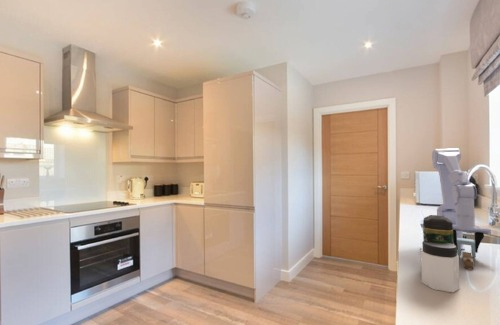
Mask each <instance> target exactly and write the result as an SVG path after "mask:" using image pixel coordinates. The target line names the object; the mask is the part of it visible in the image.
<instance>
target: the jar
mask: <svg viewBox="0 0 500 325" xmlns="http://www.w3.org/2000/svg"><path fill="white" fill-rule="evenodd" d="M421 243H422V250H421V251H420V258H421V259H420V262H421V263H420V264H421V267H420V268H421V269H420V270H421V283H422V284H424V285H425V286H427V287H429V288H430V289H432V290H436V291H440V292H448V293H452V294H453V293H455V292H456V291H458V290H459V289H461V288H460V285H461V283H460V260H459V259H460V255H458V252H457V246H456V245H454V244H451V243H447V242H442V241H430V240H429V241H424V240H423V241H422V242H421Z"/></svg>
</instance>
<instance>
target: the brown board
mask: <svg viewBox="0 0 500 325" xmlns="http://www.w3.org/2000/svg"><path fill="white" fill-rule="evenodd" d="M461 254H462V262H463V268H464V269H468V270H475V269H474V268H475V267H474V259H473V257H472V254H471V252H468V251H461Z"/></svg>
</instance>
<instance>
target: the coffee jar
mask: <svg viewBox="0 0 500 325" xmlns="http://www.w3.org/2000/svg"><path fill="white" fill-rule="evenodd" d="M422 220H423V221H422V223H423V225H422V226H423V227H422V228H423V230H422V231H423V232H422V236H423V241H429V240H430V241H442V242H447V243H451V244H453V223H452V221H451V220H449V219H447V218H445V217H444V216H438V215H437V214H435V215H434V214H431V215H428V216H424V217H423V219H422Z"/></svg>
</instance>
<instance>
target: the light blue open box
mask: <svg viewBox="0 0 500 325" xmlns="http://www.w3.org/2000/svg"><path fill="white" fill-rule="evenodd" d="M460 244H464V246H470V247H471V248H470V249H471V250H470V251H471V252H470V253H471V255H472V258H476V254H477V253H476V252H475V239H470V238H464V237H463V238H457V247H458V250H457V255H458V256H462V255H461V254H462V251H461V250H462V249H461V245H460Z"/></svg>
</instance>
